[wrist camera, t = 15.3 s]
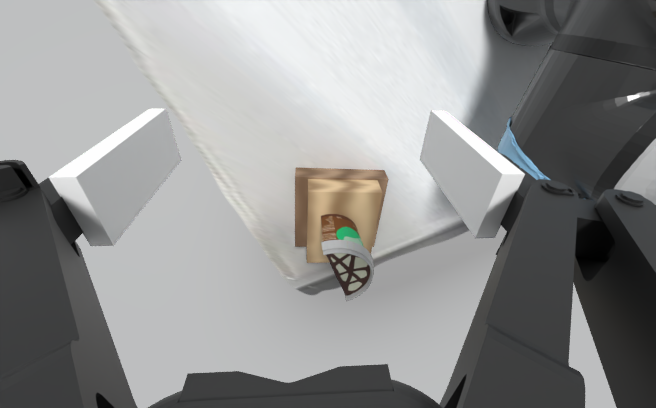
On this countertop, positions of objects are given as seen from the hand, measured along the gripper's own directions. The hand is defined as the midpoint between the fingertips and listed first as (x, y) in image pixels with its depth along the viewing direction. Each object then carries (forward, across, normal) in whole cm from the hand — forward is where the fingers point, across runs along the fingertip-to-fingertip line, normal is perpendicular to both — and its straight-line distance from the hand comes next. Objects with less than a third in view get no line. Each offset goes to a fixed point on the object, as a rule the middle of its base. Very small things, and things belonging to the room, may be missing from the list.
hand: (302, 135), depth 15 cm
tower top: (+28, -6, +27) cm, 40 cm away
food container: (+24, -6, +27) cm, 37 cm away
